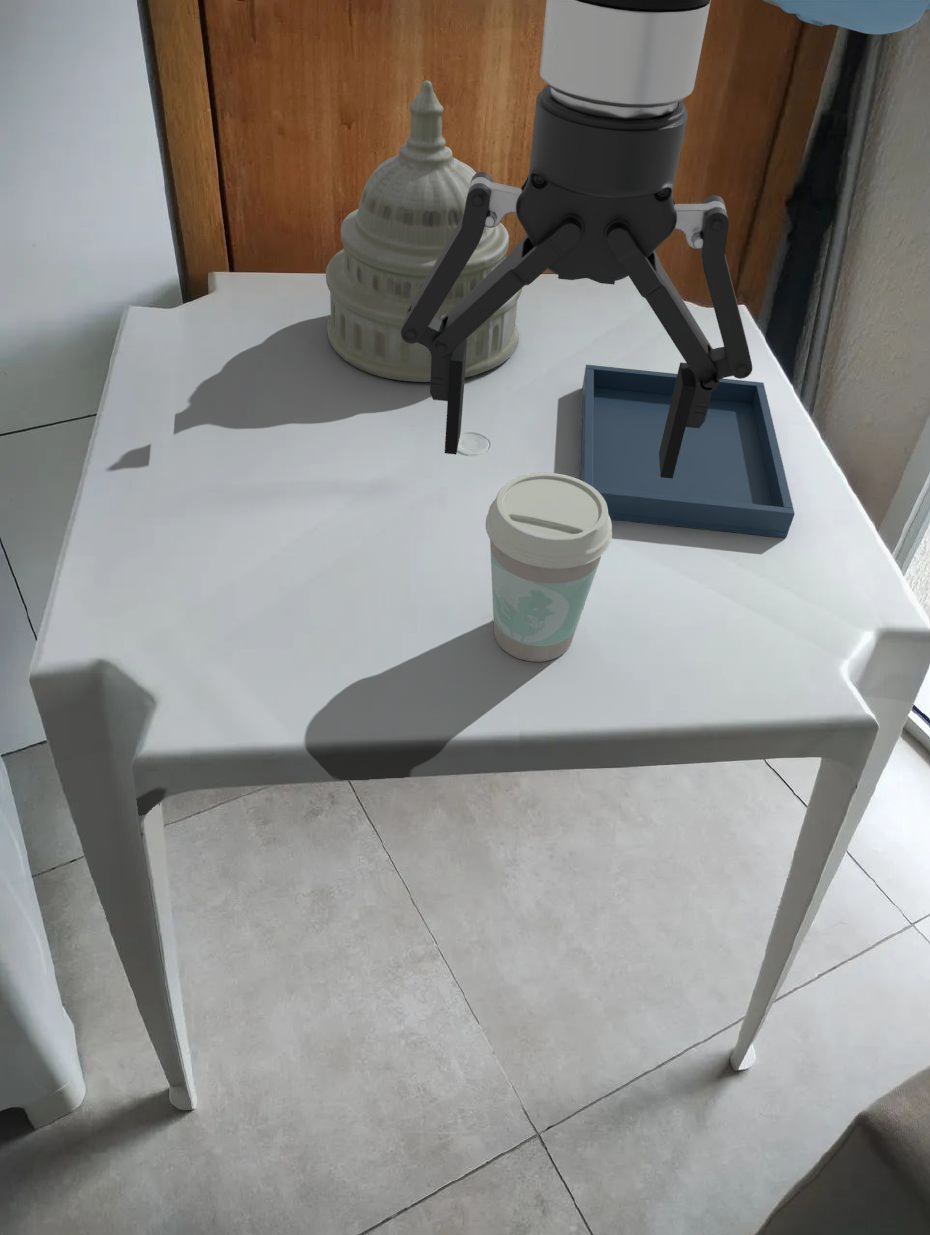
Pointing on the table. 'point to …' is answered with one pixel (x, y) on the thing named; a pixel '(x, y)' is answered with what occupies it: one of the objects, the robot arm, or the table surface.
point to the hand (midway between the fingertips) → (558, 454)
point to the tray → (683, 455)
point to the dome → (411, 258)
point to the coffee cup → (544, 560)
